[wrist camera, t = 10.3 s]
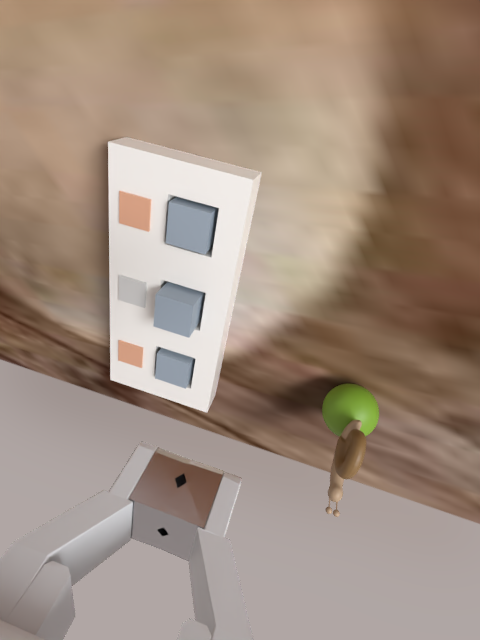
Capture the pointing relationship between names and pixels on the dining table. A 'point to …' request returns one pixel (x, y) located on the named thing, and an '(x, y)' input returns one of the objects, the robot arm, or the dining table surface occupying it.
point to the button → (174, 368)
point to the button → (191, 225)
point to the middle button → (178, 309)
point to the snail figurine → (348, 432)
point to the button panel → (172, 262)
